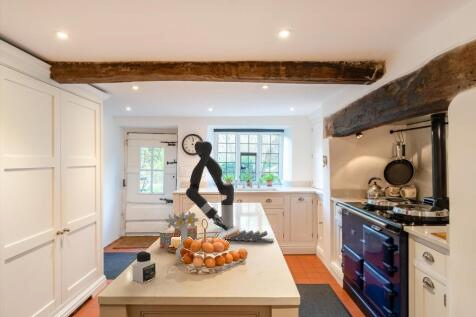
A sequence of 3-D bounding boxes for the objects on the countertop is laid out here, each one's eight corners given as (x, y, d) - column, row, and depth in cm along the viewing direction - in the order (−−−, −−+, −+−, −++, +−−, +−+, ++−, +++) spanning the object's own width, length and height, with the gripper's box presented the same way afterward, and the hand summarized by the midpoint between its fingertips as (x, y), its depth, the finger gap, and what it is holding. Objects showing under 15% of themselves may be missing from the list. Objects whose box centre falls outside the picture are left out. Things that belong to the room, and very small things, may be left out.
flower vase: (173, 253, 159) (172, 209, 158) (203, 255, 154) (203, 210, 154) (161, 261, 146) (160, 213, 146) (194, 264, 141) (193, 215, 141)
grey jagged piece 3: (236, 238, 180) (250, 232, 177) (238, 236, 184) (252, 230, 182) (238, 241, 179) (251, 235, 177) (240, 238, 184) (253, 232, 182)
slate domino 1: (229, 238, 181) (243, 231, 178) (231, 235, 185) (244, 229, 183) (231, 240, 180) (244, 234, 178) (233, 238, 185) (246, 232, 183)
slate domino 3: (243, 238, 178) (257, 232, 176) (245, 236, 183) (258, 230, 181) (244, 241, 178) (258, 235, 176) (246, 239, 183) (260, 233, 181)
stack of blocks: (159, 248, 168) (159, 227, 168) (163, 244, 175) (163, 225, 175) (195, 248, 167) (194, 227, 167) (197, 245, 173) (196, 225, 173)
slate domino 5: (251, 238, 178) (265, 232, 176) (252, 236, 183) (266, 230, 181) (252, 241, 177) (266, 235, 176) (253, 239, 182) (267, 233, 181)
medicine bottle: (143, 283, 121) (142, 256, 121) (132, 280, 125) (131, 253, 125) (156, 277, 127) (155, 251, 127) (145, 274, 131) (144, 248, 131)
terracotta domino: (223, 237, 182) (236, 231, 179) (225, 235, 186) (238, 229, 184) (224, 240, 181) (237, 234, 179) (226, 238, 186) (239, 232, 184)
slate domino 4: (256, 240, 177) (272, 240, 175) (257, 237, 182) (273, 238, 179) (256, 243, 177) (272, 244, 175) (257, 240, 182) (273, 241, 179)
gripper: (209, 208, 179) (228, 228, 176) (215, 204, 192) (233, 223, 189) (201, 216, 180) (220, 236, 177) (208, 212, 193) (225, 231, 190)
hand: (227, 229), depth 183 cm, fingers closed
